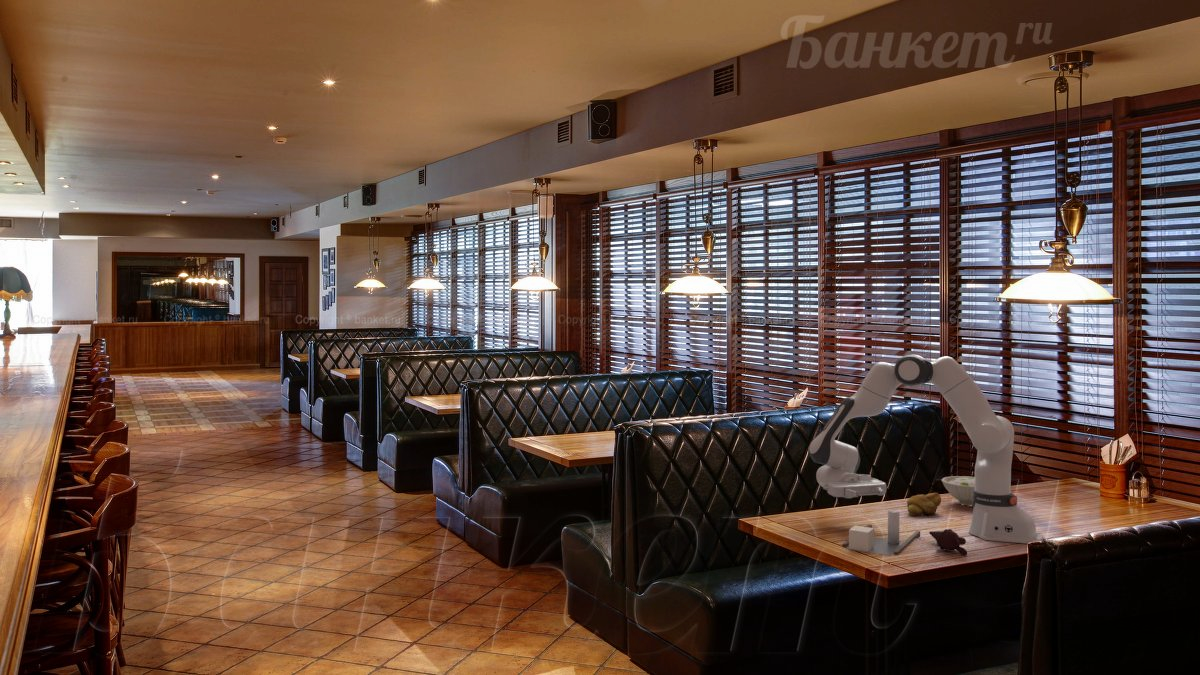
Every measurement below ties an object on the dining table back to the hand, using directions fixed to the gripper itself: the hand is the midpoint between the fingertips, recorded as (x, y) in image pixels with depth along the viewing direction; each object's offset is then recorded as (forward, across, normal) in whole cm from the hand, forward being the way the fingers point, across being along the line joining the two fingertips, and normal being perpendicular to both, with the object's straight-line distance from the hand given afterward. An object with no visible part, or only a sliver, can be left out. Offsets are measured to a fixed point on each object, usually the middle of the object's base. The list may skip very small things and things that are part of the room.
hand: (869, 493), depth 301 cm
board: (+15, -7, +14) cm, 22 cm away
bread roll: (-20, +34, +14) cm, 42 cm away
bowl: (-26, +60, +14) cm, 67 cm away
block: (+16, -13, +13) cm, 24 cm away
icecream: (+23, +14, +14) cm, 30 cm away
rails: (+10, -1, +14) cm, 17 cm away
